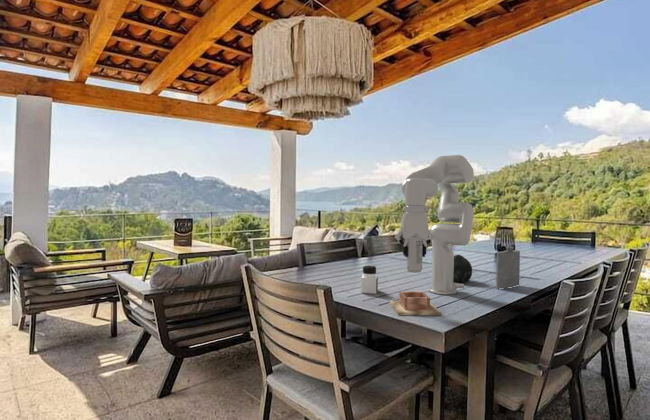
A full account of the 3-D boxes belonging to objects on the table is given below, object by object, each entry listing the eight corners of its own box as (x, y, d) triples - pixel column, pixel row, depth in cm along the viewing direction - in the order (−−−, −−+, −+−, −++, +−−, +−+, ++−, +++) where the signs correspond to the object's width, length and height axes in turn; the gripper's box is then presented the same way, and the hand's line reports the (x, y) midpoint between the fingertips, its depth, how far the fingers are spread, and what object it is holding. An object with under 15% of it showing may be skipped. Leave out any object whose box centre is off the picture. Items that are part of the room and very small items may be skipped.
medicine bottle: (376, 294, 171) (376, 267, 171) (360, 293, 173) (360, 267, 172) (377, 290, 178) (377, 264, 178) (362, 289, 180) (362, 264, 179)
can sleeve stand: (428, 303, 157) (428, 289, 156) (440, 315, 141) (441, 300, 140) (389, 303, 156) (390, 289, 156) (397, 315, 140) (398, 300, 140)
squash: (454, 266, 210) (445, 247, 203) (480, 271, 199) (472, 252, 191) (443, 286, 204) (433, 267, 196) (469, 292, 192) (460, 273, 185)
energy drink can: (411, 269, 152) (412, 232, 152) (425, 271, 148) (425, 233, 148) (403, 271, 148) (403, 233, 147) (417, 273, 144) (417, 234, 143)
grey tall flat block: (514, 284, 190) (515, 245, 189) (522, 286, 187) (523, 245, 186) (494, 288, 182) (495, 247, 181) (502, 290, 178) (503, 248, 178)
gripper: (434, 210, 151) (433, 255, 152) (391, 209, 151) (390, 254, 151) (440, 210, 144) (439, 258, 144) (394, 210, 143) (394, 257, 144)
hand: (414, 255), depth 148 cm, fingers closed on energy drink can, 6 cm apart
